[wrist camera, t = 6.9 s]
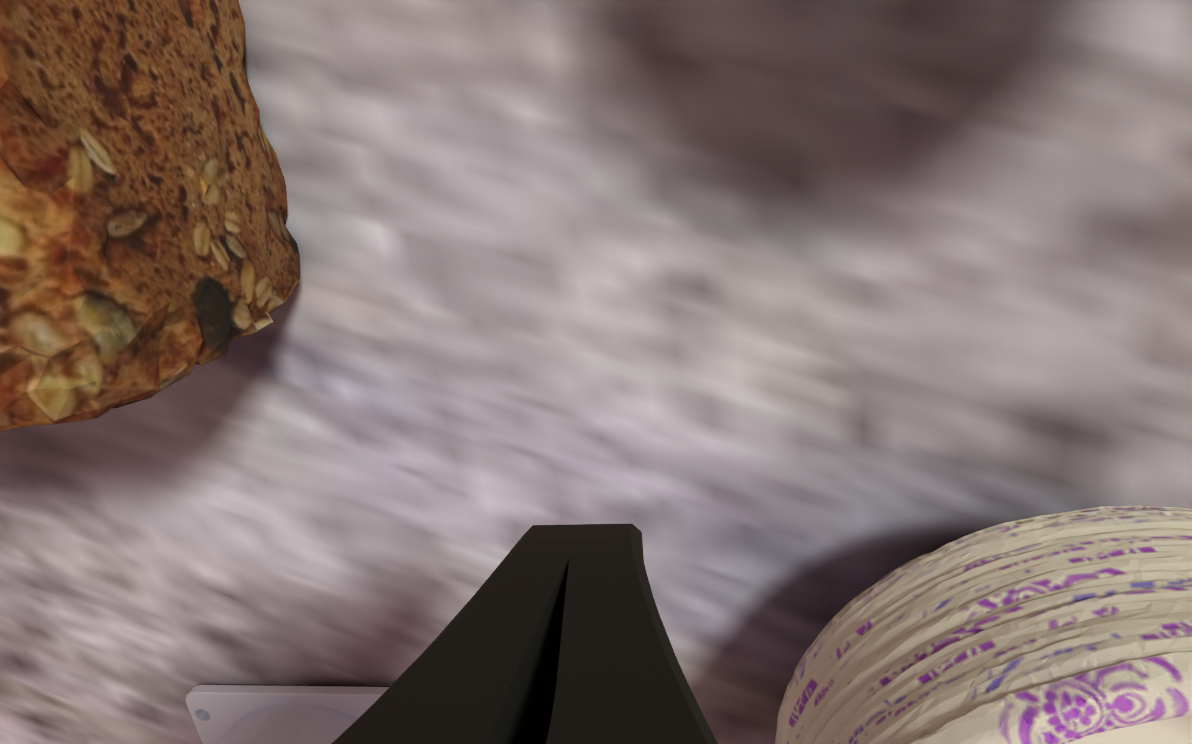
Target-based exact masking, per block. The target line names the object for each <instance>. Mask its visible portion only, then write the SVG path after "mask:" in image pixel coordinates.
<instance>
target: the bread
mask: <svg viewBox="0 0 1192 744" xmlns="http://www.w3.org/2000/svg"><path fill="white" fill-rule="evenodd" d="M243 54H244V20H243V16H242V13H241V9H240V6H239V2H238V0H0V431H4V430H8V429H13V428H17V427H21V426H33V425H48V424H58V423H66V422H74V421H81V420H88V419H94V418H98V417H100V416H101V415H102V414H104V413H105V412H107V411H108V410H110V409H111V408H118V407H121V406H124V405H128V404H131V403H134V402H138V401H141V400H144V399H148V398H151V397H152V396H154V395H155V394H156V393H158V392H159V391H161V390H163V389H164V388H166V387H168V386H170V385H171V384H173V383H175V382H176V381H178V380H180V379H182V378H183V377H185V376H187V375H189V374H190V373H191V372H192V369H193V367H194V364H198V365H201V366H202V365H204V364H206V363H209V362H211V361H213V360H215V359H218V358H220V357H222V356H224V355H227V349H228V342H229V340H232V339H236V338H239V337H243V336H246V335H250V334H253V333H255V332H258V330H260V329H262V328H263V327H265V326H267V325H269V324H271V323H273V320H272V319H271V317H270V315H269V314H270V313H271V312H272V311H274V310H275V309H276V308H277V307H279V306H280V305H281V304H283V303H284V302H286V301H287V299H288V298H289V296H290V294H291V293H292V291H293V290H294V288H295V286H296V285H297V283H298V282H299V279H300V256H299V251H298V247H297V243H296V241H295V240H294V238H293V237H292V235H291V234H290V233H289V231H288V230H287V228H286V227H285V225H284V222H285V221H286V216H287V195H286V185H285V180H284V177H283V174H282V172H281V169H280V166H279V163H278V159H277V156H276V153H275V151H274V150H273V148H272V146H271V144H270V142H269V141H268V139H267V137H266V135H265V133H264V132H263V130H262V128H261V126H260V120H259V109H258V106H257V104H256V102H255V99H254V97H253V94H252V92H251V89H250V86H249V83H248V79H247V76H246V72H245V68H244V64H243Z"/></svg>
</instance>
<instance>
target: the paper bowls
mask: <svg viewBox="0 0 1192 744" xmlns="http://www.w3.org/2000/svg"><path fill="white" fill-rule="evenodd" d="M775 744H1192V509H1185V508H1177V507H1161V506H1103V507H1095V508H1089V509H1083V510H1077V511H1071V512H1064V513H1058V514H1051V515H1041V516H1037V517H1032V518H1027V519H1022V520H1017V521H1012V522H1005V523H1002V524H999V525H996V526H992V527H989V528H986V529H983V530H980V531H977V532H974V533H972V534H969V535H967V536H964V537H962V538H960V539H958V540H956V541H953V542H950V543H947V544H946V545H944V546H942V547H941V548H939V549H937V550H935V551H933V552H931V553H927V554H924V555H921V556H919V557H917V558H915V559H913V560H911V561H909V562H907V563H905V564H904V565H902V566H900V567H898V568H897V569H895V570H893V571H892V572H890V573H889V574H887V575H886V576H884V577H883V578H882V579H880V580H879V581H878V582H877V583H875V584H874V585H873V586H871V587H870V588H868V589H866V590H865V591H863V592H862V593H861V594H859V595H858V596H857V597H856V598H854V599H853V600H851V601H850V602H849V603H848V604H847V605H846V606H845V607H844V608H843V609H842V610H841V611H840V612H839V613H837V614H836V615H835V616H834V617H833V618H832V620H831V621H830V622H829V623H828V624H827V625H826V626H825V628H824V629H823V630H822V631H821V632H820V633H819V635H818V636H817V638H816V639H815V640H814V642H813V643H812V645H811V646H810V647H809V648H808V649H807V651H806V652H805V653H804V655H803V657H802V658H801V660H800V662H799V664H798V665H797V667H796V669H795V672H794V675H793V677H792V679H791V681H790V682H789V684H788V686H787V689H786V692H785V695H784V698H783V701H782V703H781V706H780V709H779V714H778V719H777V732H776V737H775Z"/></svg>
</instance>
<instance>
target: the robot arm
mask: <svg viewBox="0 0 1192 744" xmlns="http://www.w3.org/2000/svg"><path fill="white" fill-rule="evenodd" d="M185 699H186V704H187V707H188V709H189V712H190V714H191V717H192V720H193V722H194V725H195V727H196V730H197V733H198V735H199V738H200V740H201V743H202V744H718V743H717V741H716V739H715V737H714V735H713V734H712V732H711V730H710V728H709V726H708V724H707V722H706V720H705V718H704V716H703V714H702V712H701V710H700V708H699V706H698V704H697V701H696V699H695V697H694V695H693V693H692V691H691V689H690V687H689V685H688V683H687V681H686V678H685V676H684V674H683V672H682V669H681V667H680V665H679V663H678V660H677V658H676V656H675V653H674V651H673V648H672V646H671V643H670V641H669V638H668V636H667V633H666V631H665V628H664V626H663V623H662V620H661V618H660V615H659V613H658V610H657V607H656V604H655V601H654V598H653V595H652V591H651V588H650V584H649V581H648V577H647V574H646V570H645V565H644V560H643V545H642V532H641V531H640V530H639V529H638V528H636V527H635V526H634V525H633V524H587V525H533V526H532V527H531V528H530V529H529V530H528V531H527V532H526V533H525V534H524V535H523V537H522V538H521V539H520V540H519V541H518V543H517V544H516V545H515V546H514V547H513V549H512V550H511V551H510V552H509V554H508V555H507V556H506V557H505V559H504V560H503V561H502V562H501V563H500V565H499V566H498V567H497V568H496V570H495V571H494V572H493V573H492V574H491V576H490V577H489V578H488V579H487V580H486V582H485V583H484V584H483V585H482V586H481V588H480V589H479V590H478V591H477V592H476V594H475V595H474V596H473V597H472V598H471V599H470V601H469V602H468V603H467V604H466V605H465V606H464V607H463V609H462V610H461V611H460V612H459V613H458V614H457V615H456V616H455V618H454V619H453V620H452V621H451V622H450V623H449V624H448V626H447V627H446V628H445V629H444V630H443V631H442V632H441V633H440V635H439V636H438V637H437V638H436V639H435V640H434V641H433V642H432V644H431V645H430V646H429V647H428V648H427V649H426V650H425V651H424V652H423V653H422V654H421V655H420V656H419V657H418V658H417V659H416V660H415V662H414V663H413V664H412V665H411V666H410V667H409V668H408V669H407V670H406V671H405V672H404V673H403V674H402V675H401V676H400V677H399V678H398V679H397V680H396V681H395V682H394V683H393V684H392V685H391V686H390V687H340V686H256V685H197V686H195V687H193V688H192V689H191V690H190V692H189V693H188V694H187V696H186V698H185Z"/></svg>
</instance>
